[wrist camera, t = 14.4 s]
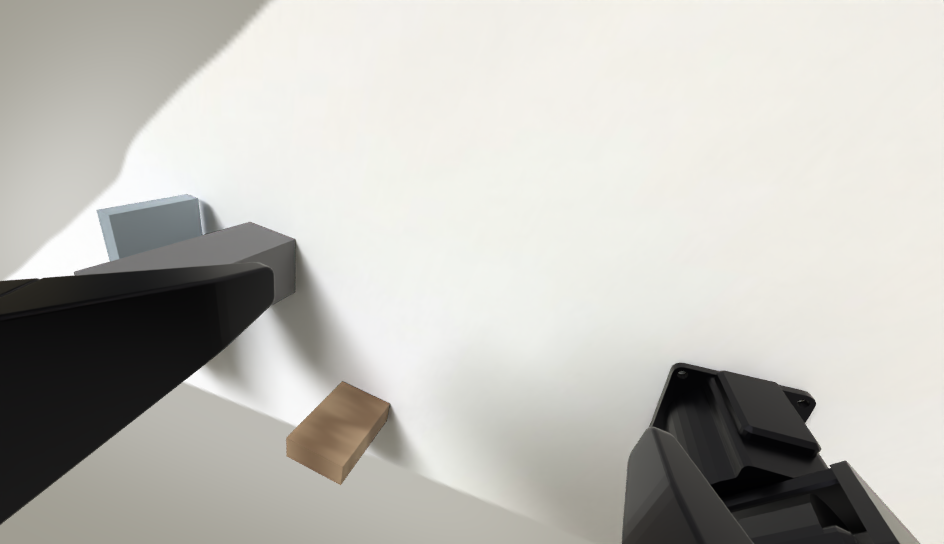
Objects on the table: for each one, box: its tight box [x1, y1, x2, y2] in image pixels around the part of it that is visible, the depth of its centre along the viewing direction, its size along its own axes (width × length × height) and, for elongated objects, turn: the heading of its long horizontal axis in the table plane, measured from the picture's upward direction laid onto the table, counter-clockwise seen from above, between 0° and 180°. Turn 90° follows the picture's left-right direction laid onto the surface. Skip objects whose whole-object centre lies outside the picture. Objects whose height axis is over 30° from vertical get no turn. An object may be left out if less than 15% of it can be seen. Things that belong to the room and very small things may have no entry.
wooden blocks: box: [286, 381, 390, 485], centre depth 29 cm, size 23×2×6 cm, turn 76°
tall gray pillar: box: [74, 222, 295, 305], centre depth 22 cm, size 4×4×10 cm
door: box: [97, 194, 202, 261], centre depth 27 cm, size 14×3×6 cm, turn 166°
